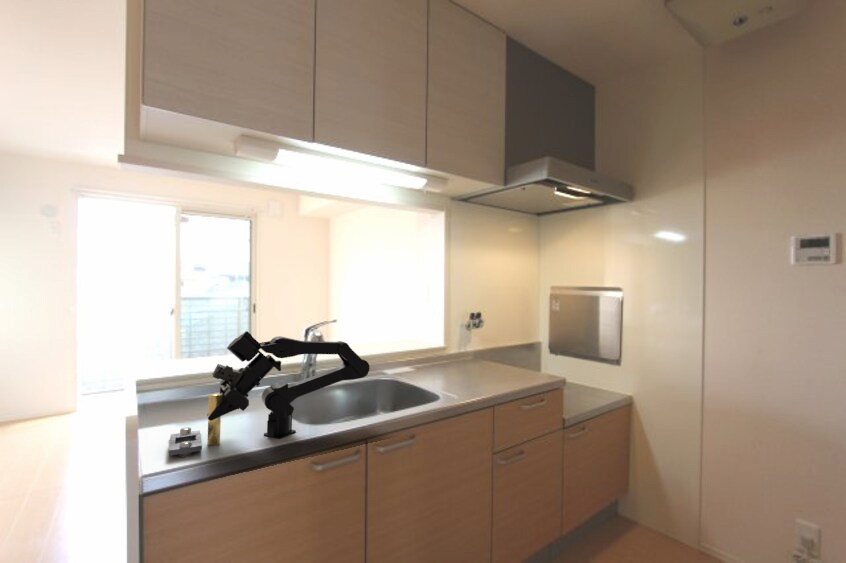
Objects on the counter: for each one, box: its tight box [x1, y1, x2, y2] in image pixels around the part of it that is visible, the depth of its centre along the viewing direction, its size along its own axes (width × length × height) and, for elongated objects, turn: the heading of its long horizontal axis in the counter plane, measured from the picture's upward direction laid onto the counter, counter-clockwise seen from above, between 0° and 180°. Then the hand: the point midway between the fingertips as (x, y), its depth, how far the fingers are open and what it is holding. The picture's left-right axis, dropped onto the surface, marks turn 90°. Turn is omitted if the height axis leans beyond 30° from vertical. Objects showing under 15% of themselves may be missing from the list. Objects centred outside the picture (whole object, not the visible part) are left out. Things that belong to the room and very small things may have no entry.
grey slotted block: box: [168, 427, 203, 458], centre depth 105 cm, size 17×7×3 cm, turn 31°
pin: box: [206, 393, 222, 447], centre depth 107 cm, size 3×3×13 cm
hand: (208, 417), depth 107 cm, fingers closed on pin, 3 cm apart
